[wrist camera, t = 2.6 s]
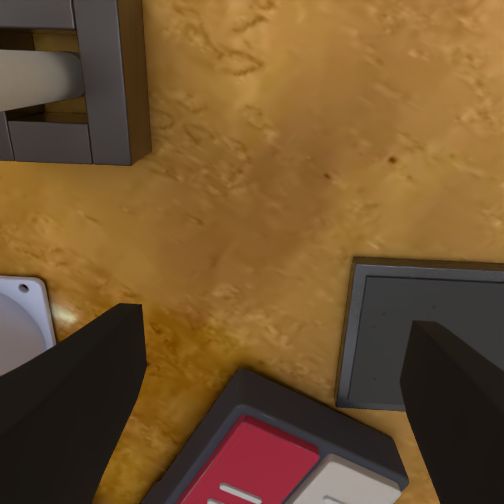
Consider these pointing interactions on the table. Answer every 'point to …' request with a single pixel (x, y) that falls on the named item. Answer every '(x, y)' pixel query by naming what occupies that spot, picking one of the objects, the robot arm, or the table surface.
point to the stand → (94, 81)
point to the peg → (38, 78)
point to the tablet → (404, 312)
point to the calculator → (280, 453)
